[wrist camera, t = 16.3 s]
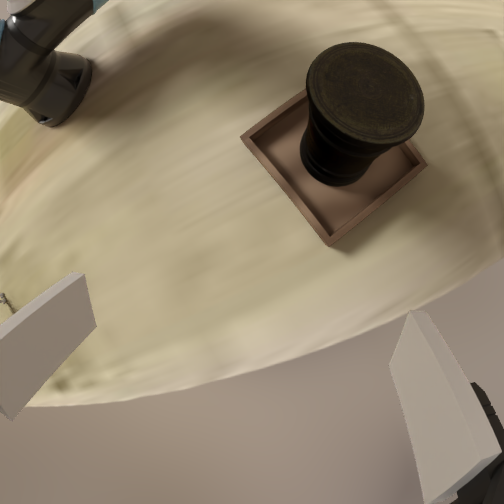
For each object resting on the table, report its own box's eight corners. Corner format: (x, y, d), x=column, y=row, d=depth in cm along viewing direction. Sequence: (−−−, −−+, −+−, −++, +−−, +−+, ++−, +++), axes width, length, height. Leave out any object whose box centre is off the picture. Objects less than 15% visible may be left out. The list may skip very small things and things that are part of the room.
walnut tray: (243, 143, 35) (239, 136, 32) (338, 76, 32) (341, 65, 29) (325, 245, 35) (328, 246, 32) (418, 169, 32) (427, 165, 29)
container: (357, 114, 32) (399, 34, 14) (377, 179, 32) (446, 141, 15) (291, 126, 33) (285, 44, 16) (309, 193, 34) (324, 160, 16)
